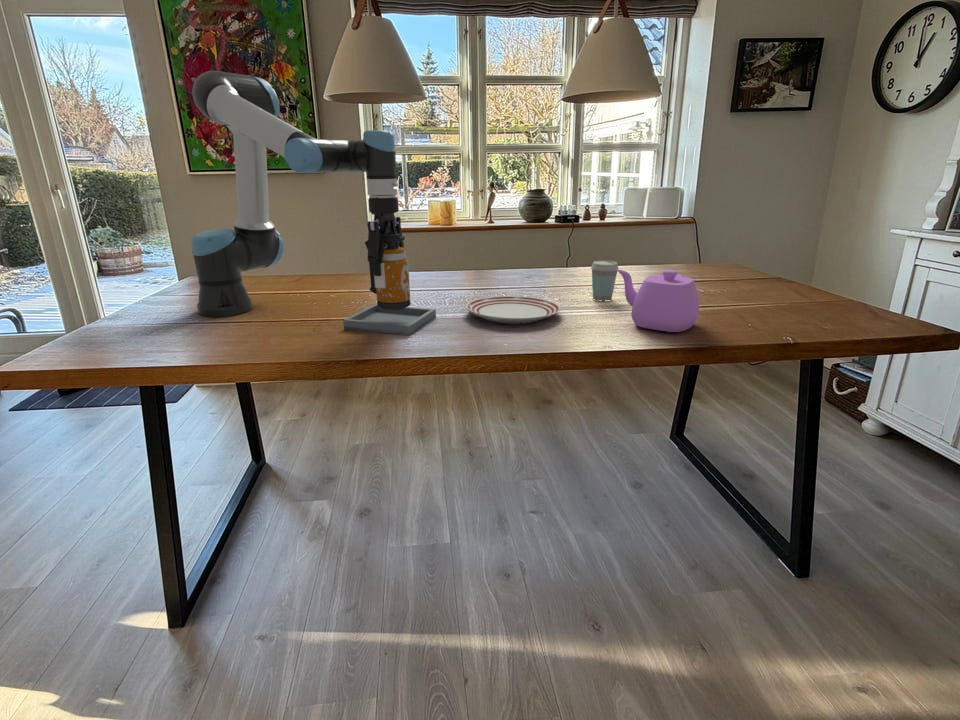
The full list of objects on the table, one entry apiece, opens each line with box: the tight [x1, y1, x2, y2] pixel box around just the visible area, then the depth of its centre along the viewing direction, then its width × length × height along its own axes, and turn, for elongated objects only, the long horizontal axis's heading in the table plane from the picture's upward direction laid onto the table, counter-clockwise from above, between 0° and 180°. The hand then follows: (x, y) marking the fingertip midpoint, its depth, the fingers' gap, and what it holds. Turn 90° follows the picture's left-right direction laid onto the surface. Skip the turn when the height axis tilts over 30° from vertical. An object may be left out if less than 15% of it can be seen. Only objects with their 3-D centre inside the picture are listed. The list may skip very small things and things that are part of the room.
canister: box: [364, 234, 411, 310], centre depth 139 cm, size 9×11×20 cm
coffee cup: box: [590, 260, 620, 301], centre depth 166 cm, size 9×9×12 cm
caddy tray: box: [342, 303, 437, 336], centre depth 144 cm, size 19×17×2 cm
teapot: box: [616, 268, 700, 333], centre depth 142 cm, size 23×21×15 cm
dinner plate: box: [465, 295, 561, 325], centre depth 152 cm, size 27×27×3 cm
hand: (389, 283), depth 141 cm, fingers closed on canister, 9 cm apart
